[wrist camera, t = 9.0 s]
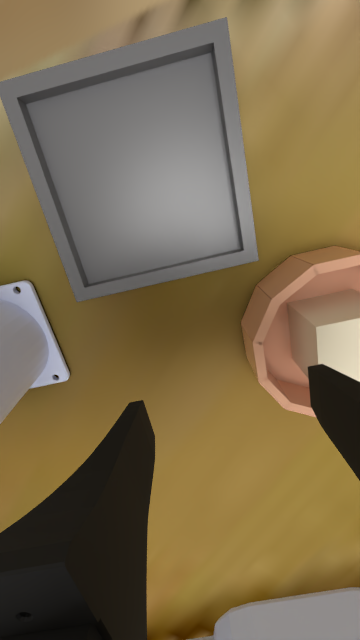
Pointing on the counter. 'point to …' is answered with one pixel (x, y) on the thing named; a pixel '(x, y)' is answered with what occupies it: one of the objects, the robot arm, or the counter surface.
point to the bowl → (273, 324)
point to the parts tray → (139, 160)
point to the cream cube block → (327, 332)
